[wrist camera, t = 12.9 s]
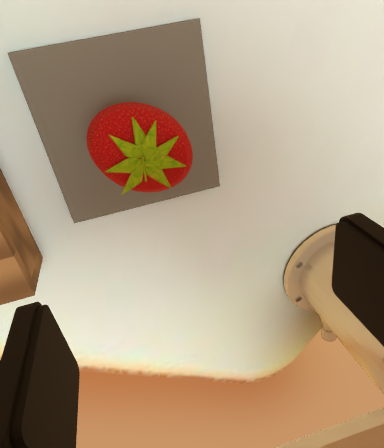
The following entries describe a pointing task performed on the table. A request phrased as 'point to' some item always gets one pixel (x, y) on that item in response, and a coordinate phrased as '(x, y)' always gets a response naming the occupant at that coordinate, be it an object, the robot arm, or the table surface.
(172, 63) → the mat
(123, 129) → the strawberry
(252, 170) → the table surface
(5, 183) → the wooden box
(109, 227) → the table surface
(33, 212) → the table surface
